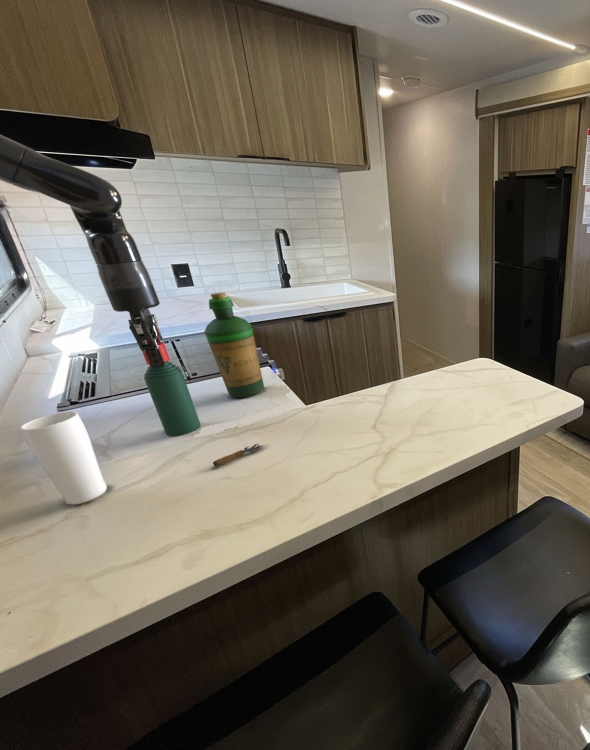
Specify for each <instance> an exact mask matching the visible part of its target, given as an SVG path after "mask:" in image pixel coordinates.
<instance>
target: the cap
mask: <svg viewBox="0 0 590 750" xmlns="http://www.w3.org/2000/svg"><path fill="white" fill-rule="evenodd" d="M158 345H159V350H160V352H161V355H162V358H163V360H164V362H166V361H169V362H170V359H171V358H170V356H169V353H168V351H167V348H166V345H165V343H164V342H163V343H158ZM141 353H142V355H143V357H144V360H145V363H146V365H151V364H150V362H149V359H148V357H147V354H146V352H144V351H142V350H141Z"/></svg>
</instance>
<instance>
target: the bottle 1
mask: <svg viewBox="0 0 590 750" xmlns="http://www.w3.org/2000/svg"><path fill="white" fill-rule="evenodd" d="M164 363H165V365H164V366H163V367H158V368H152V366H151V365H149V364H148V365H149V366H148V367H147V369H146V370H145V373H144V374H143V379H144V382H145V384H146V387H147V390H148V392H149V394H150V395H149V396H150V397H151V400H152V402H153V405H154V408H155V410H156V412H157V415H158V418H159V421H160V422H161V426H162V428H163V430H164V433H165V435H166V436H167V437H179V436H183V435H187V434H190V433H192V432H195V431H196V430H198V429H199V428H200V427H201V425H202V424H201V421H200V419H199V416H198V413H197V410H196V407H195V404H194V401H193V399H192V396H191V393H190V391H189V387H188V384H187V381H186V379H185V375H184V373H183V371H182V370H183V369H181V368H180V366H177V365H176V364H175V363H173V362H170V360H169V361H166V362H164Z"/></svg>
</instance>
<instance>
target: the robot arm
mask: <svg viewBox="0 0 590 750" xmlns="http://www.w3.org/2000/svg"><path fill="white" fill-rule="evenodd" d="M0 181H1V182H4V183H6V184H9V185H12V186H14V187H17V188H19V189H21V190H26V191H28V192H33V193H39V194H42V195H44V196H45V197H46V196H47V197H49V198H51V199H53V200H56V201H58V202H61V203H62V204H66V205H68V206H69V207H70V210H71V211H72V214H73V215H74V217H75V219H76V221H77V224H78V225H79V227H80V229H81V231H82V232H83V235H84V236H85V238H86V242H87V245H88V248H89V250H90V253H91V256H92V258H93V260H94V263H95V265H96V268H97V269H96V270H97V272H98V276H99V279H100V282H101V284H102V287H103V289H104V291H105V294H106V296H107V298H108V301H109V303H110V306H111V307H112V310H113V311H114V312H117V313H118V312H119V313H122V312H123V313H125V312H128V314H129V317H130V319H127V320H128V325H129V328H128V329H129V330H130V331H131V333H132V336H133V337H134V339H135V341H136V343H137V345H138V347H139V350H141V352H142V351H144V352H146V354H147V357H148V359H149V362H150V364H151V366H152V368H158V367H163V366H164V365H165V363H164V360H163V358H162V355H161V352H160V350H159V345H158V343H164V342H163V336H162V334H161V330H160V327H159V324H158V319H157V316H156V315H155V314H154V313H151V311H150V309H151V308H155V307H158V306H159V305H160V300H159V296H158V294H157V292H156V289H155V286H154V284H153V281H152V278H151V275H150V273H149V271H148V268H147V267H146V265H145V263H144V261H143V259H142V256H141V254H140V251H139V249H138V245H137V243H136V241H135V239H134V237H133V236H132V234H131V233H129V231H128V229H127V226H126V224H125V221H124V219H123V216H122V214H121V211H120V209H121V208H122V204H123V201H122V200H123V199H122V196H121V194H120V192H119V191H118V190H117V188H116V187H115V186H114V185H113V184H111V183H110V182H109V181H107V180H106V179H105V178H104V179H103V178H102V177H100V176H98V175H96V174H93V173H91V172H90V171H86V170H84V169H81V168H78V167H76V166H73V165H71V164H68V163H66V162H63V161H61V160H57V159H54V158H52V157H49V156H46V155H44V154H42V153H41V152H38V151H37V150H34V149H32V148H30V147H28V146H27V145H24V144H23V143H19V142H17V141H16V140H14V139H11V138H9V137H7V136H4V135H2V134H0Z"/></svg>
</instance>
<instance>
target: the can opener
mask: <svg viewBox="0 0 590 750" xmlns="http://www.w3.org/2000/svg"><path fill="white" fill-rule="evenodd" d="M262 447H264V444H263V445H262V444H261V445H260V444H259V443H254V444H253V445H252V446H250V447H249V446H246V447H244V448H243V449H241V450H238V451H236V452H233V453H231V454H229V455H226V456H223V457H221V458H218V459H216V460H214V461H213V462H212V465H213V466H214V468H215V467H219V466H221V465H224V464H226V463H228V462H230V461H232V460H234V459H236V458H239V457H241V456H243V455H245V453H253V452H255V451H256V452H257V451H258V450H260V449H261V448H262Z"/></svg>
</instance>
